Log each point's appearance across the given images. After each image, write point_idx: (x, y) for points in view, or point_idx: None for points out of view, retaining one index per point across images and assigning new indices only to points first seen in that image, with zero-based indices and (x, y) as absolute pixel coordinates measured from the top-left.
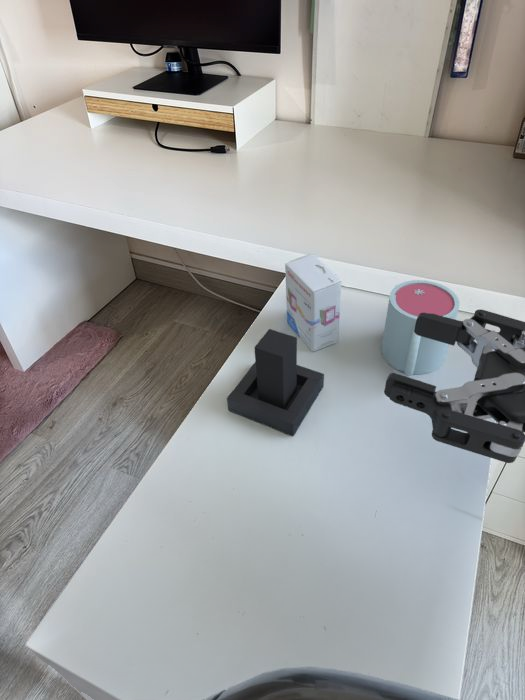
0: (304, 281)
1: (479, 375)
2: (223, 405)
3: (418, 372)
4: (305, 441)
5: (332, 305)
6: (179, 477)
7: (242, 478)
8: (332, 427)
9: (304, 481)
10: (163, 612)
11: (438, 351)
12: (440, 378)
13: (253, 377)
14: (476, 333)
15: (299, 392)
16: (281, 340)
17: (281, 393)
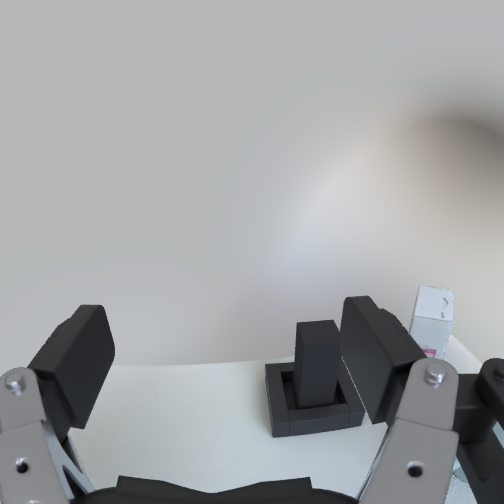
0: (417, 303)
1: (136, 490)
2: None
3: (461, 477)
4: (275, 450)
5: (432, 347)
6: (175, 381)
7: (196, 421)
8: (313, 462)
9: (222, 470)
10: None
11: None
12: (474, 497)
13: None
14: (404, 408)
15: (320, 407)
16: (326, 333)
17: (298, 392)
